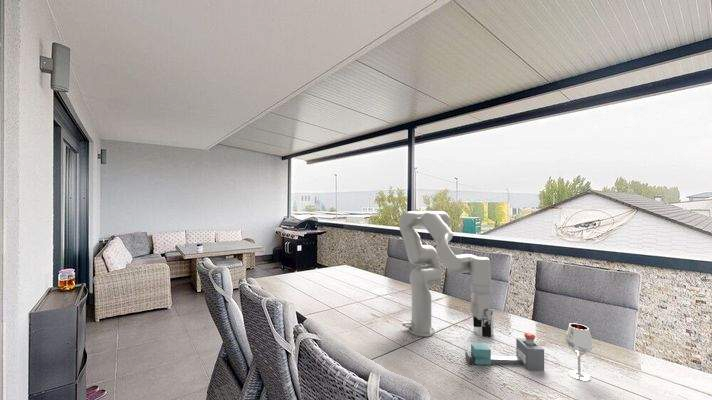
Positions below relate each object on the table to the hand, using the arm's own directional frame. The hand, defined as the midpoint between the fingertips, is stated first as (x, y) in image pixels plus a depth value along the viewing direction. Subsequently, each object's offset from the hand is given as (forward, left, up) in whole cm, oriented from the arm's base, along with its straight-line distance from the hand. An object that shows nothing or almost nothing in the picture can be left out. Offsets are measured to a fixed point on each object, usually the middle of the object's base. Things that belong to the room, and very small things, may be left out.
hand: (481, 331), depth 116 cm
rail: (+6, +1, -12) cm, 14 cm away
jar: (+11, +28, -13) cm, 32 cm away
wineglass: (+33, -6, -13) cm, 36 cm away
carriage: (0, +1, -12) cm, 12 cm away
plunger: (+19, +1, -6) cm, 20 cm away
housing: (+19, +1, -12) cm, 22 cm away
